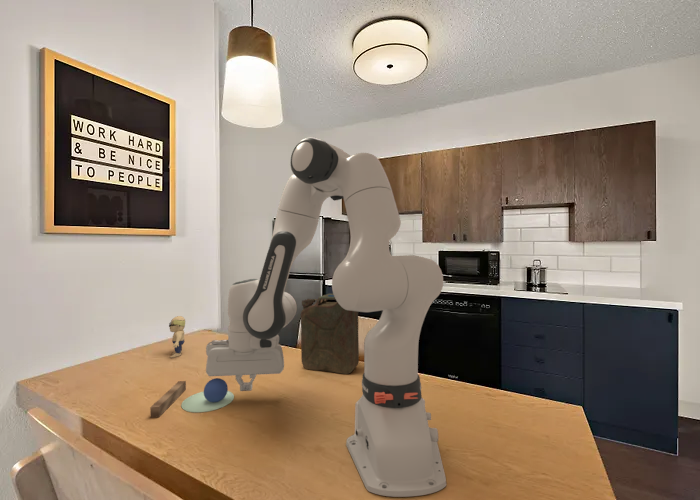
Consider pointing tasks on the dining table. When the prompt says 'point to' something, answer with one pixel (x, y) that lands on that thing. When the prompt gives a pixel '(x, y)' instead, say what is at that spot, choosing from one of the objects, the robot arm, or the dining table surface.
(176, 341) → the toy
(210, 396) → the ball
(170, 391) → the brown bar
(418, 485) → the robot arm
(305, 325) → the canister
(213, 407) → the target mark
